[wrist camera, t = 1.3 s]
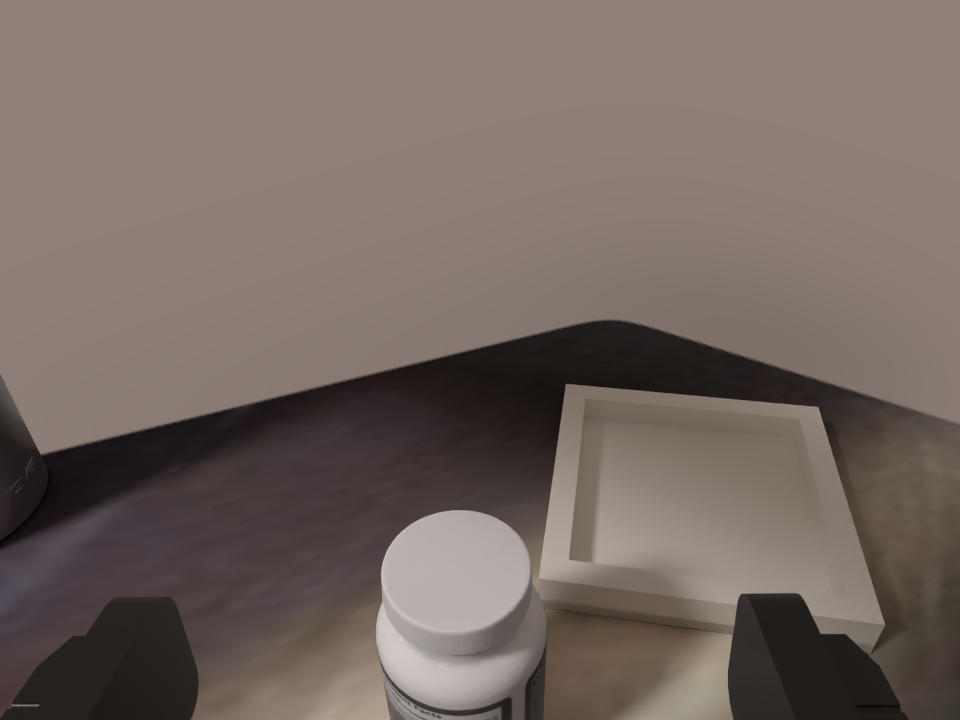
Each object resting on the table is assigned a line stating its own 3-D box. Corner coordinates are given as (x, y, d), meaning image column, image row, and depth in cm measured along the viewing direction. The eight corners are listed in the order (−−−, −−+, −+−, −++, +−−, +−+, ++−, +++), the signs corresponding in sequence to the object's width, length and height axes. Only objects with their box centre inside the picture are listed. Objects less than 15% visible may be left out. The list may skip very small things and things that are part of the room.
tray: (537, 606, 33) (538, 578, 32) (564, 410, 44) (565, 383, 43) (870, 653, 30) (885, 624, 29) (809, 434, 42) (818, 407, 41)
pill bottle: (470, 637, 32) (463, 471, 26) (572, 730, 28) (589, 562, 22) (364, 731, 28) (328, 565, 23) (465, 848, 25) (452, 688, 19)
